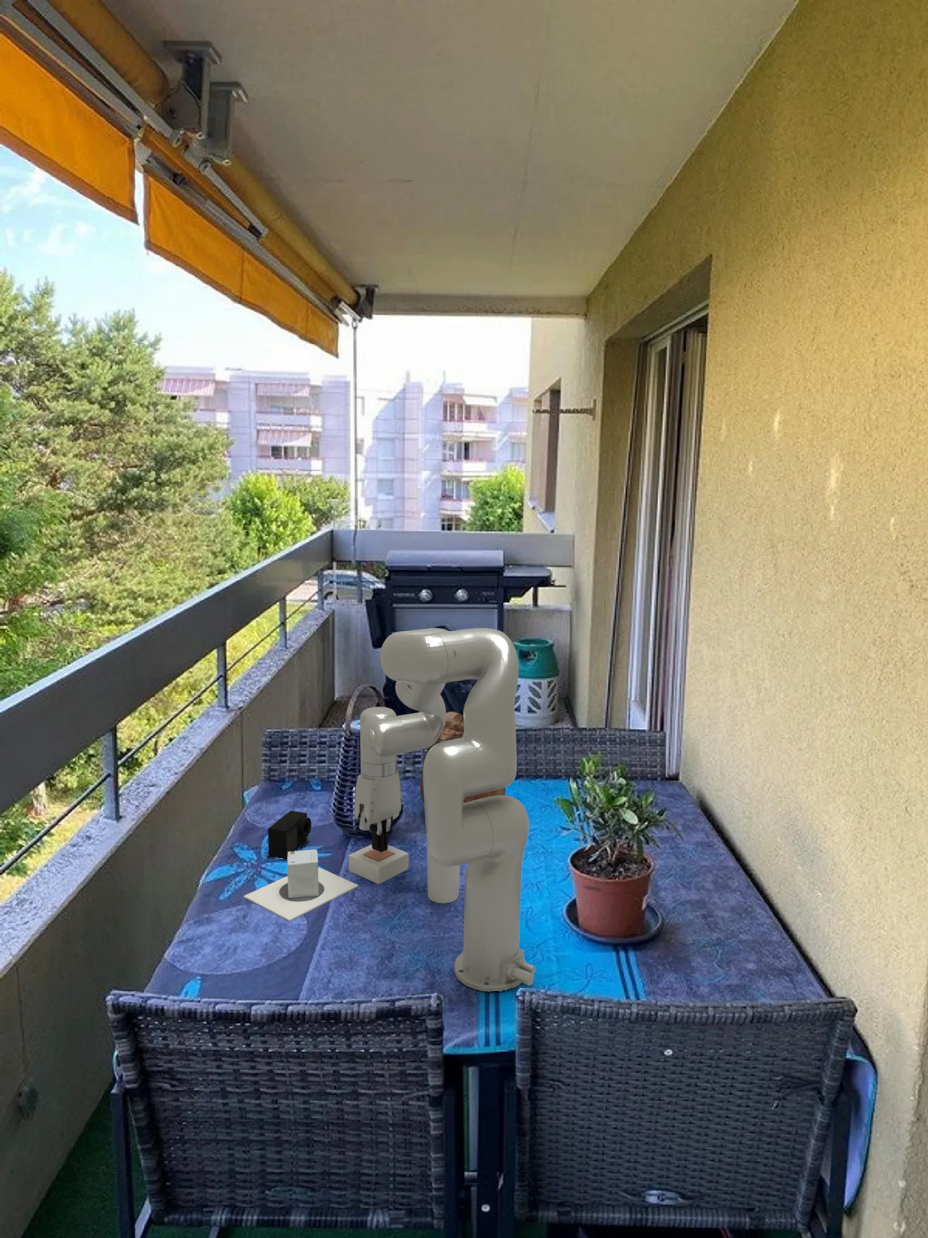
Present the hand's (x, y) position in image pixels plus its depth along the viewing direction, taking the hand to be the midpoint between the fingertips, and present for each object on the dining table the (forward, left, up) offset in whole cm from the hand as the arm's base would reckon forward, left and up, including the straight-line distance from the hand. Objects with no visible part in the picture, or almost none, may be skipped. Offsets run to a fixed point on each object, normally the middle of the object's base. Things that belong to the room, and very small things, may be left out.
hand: (379, 849), depth 187 cm
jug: (+5, -33, -5) cm, 34 cm away
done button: (+1, 0, -4) cm, 4 cm away
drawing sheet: (+6, +17, -5) cm, 18 cm away
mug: (-16, -2, -5) cm, 17 cm away
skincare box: (+5, +17, -5) cm, 18 cm away
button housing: (+1, 0, -5) cm, 5 cm away
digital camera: (+22, +6, -5) cm, 24 cm away
